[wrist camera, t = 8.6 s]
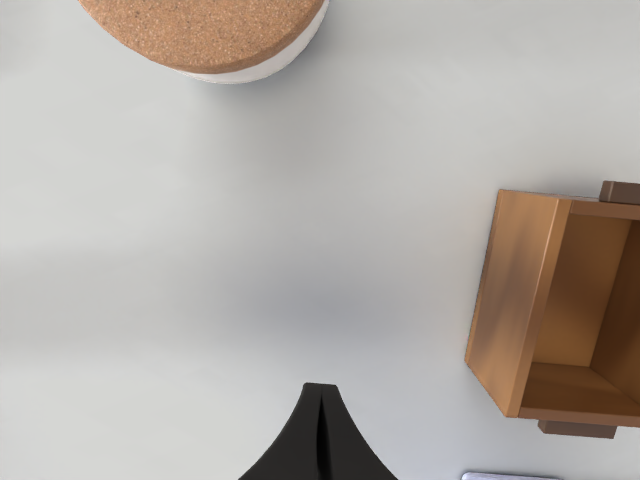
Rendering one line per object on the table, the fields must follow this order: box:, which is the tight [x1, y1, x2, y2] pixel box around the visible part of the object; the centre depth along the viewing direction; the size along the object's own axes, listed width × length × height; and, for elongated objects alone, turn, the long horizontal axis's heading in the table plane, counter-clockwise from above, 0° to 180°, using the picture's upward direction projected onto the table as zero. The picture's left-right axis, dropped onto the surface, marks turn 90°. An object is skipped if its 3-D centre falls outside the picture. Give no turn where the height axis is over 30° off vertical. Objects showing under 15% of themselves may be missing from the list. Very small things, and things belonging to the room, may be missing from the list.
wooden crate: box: [465, 181, 640, 439], centre depth 20 cm, size 14×9×6 cm, turn 175°
